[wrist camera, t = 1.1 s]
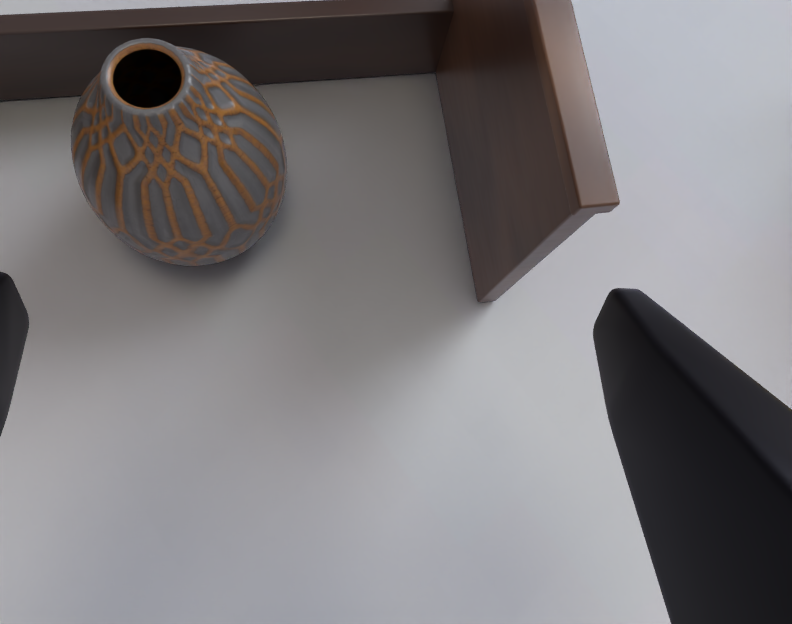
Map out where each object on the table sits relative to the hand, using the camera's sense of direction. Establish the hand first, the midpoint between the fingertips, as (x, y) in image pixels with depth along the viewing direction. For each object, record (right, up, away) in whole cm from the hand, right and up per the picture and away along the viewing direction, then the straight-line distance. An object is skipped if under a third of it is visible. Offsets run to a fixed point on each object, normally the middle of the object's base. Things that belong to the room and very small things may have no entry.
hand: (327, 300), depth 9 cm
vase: (-7, +4, +16) cm, 18 cm away
